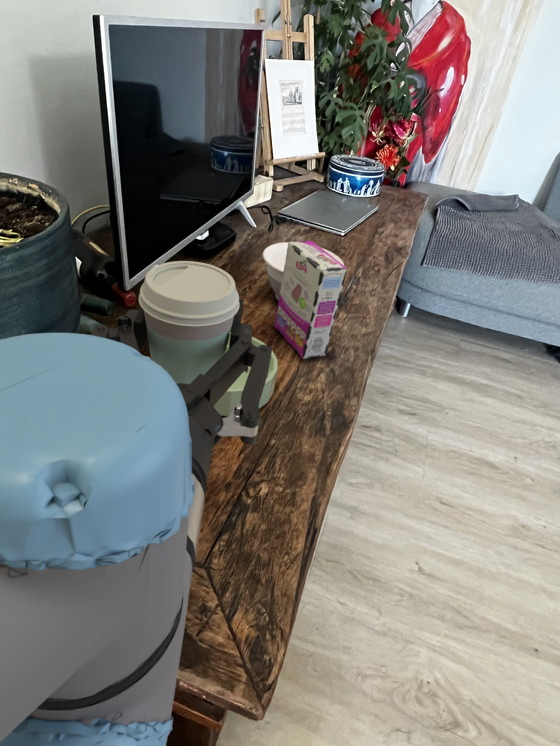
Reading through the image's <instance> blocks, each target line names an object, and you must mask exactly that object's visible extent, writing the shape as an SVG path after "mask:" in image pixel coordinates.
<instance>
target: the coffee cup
mask: <svg viewBox="0 0 560 746" xmlns="http://www.w3.org/2000/svg"><path fill="white" fill-rule="evenodd" d="M236 286H237V285H236V282H235V280H234V278H233V277H232V275H231V274H229V273H228V272H227V271H225V270H223V269H222V268H220V267H218V266H216V265H212V264H209V263H205V262H199V261H192V260H175V261H168V262H164V263H160V264H158V265H156V266H153V267H152V268H150V269H149V270H148V271H147V273H146V274H145V278H144V281H143V283H142V284H141V286H140V289H139V295H138V302H139V303H138V304H139V305H140V307H142V308H143V309H144V314H145V321H146V328H147V334H148V337H147V341H148V348H149V354H150V359H151V360H152V361H154V362H155V363H156V364H158V365H160V366H161V367H162V368H163V369H164V370H166V371H167V373H168V374H169V375H170V376H171V377H172V378H173V380H174V381H175V383H176V384H178V383H184V384H190V383H191V382H192V381H193V380H194V379H195V378H196V377H197V376H198V375H199V374H203V375H204V374H205V373H206V372H207V371H208V370H209V369H210V368H211V367H212V366H213V365H214V364H215V363H216V362H217V361H218V360H219V359H220V358H221V357H222V356H223V355H224V354H225V352H226V348H227V344H228V340H229V335H230V331H231V328H232V323H233V318H234V315H235V314H236V313H237V311H238V309H239V305H240V304H239V299H240V295H239V293H238V290H237V287H236Z"/></svg>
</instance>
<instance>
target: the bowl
mask: <svg viewBox="0 0 560 746" xmlns="http://www.w3.org/2000/svg"><path fill="white" fill-rule="evenodd" d="M288 242H289V241H288ZM288 242H287V241H286V242H285V241H283V242H277V243H274V244H271V245H269V246H268V245H267V247H266V248H264V250H263V252H262V258H263V260H264V261H265V263H266V274H267V278H268V281H269V284H270V285H271V288H272V290H273V292H274V293H275V298H276V300H277V301H279V296H280V289H281V283H282V278H283V272H284V266H285V260H286V255H287V249H288ZM321 248H322V249H323V250H324V251H326V252H327V253H328V254H330V255H331V256H332V257H333V258H335V259H336V260H337V261H339V262H340V263H341V264H342V265H344V266H345V263H344V261H343V260H342V258H340V257H339V256H338V255H337V254H335V253H333V252H332V251H330V250H327V249H325V248H323V247H321Z"/></svg>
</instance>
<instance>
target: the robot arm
mask: <svg viewBox="0 0 560 746" xmlns="http://www.w3.org/2000/svg"><path fill="white" fill-rule="evenodd" d="M239 304H240V305H239V309H238V311H237V313H236V314H235V315H234V318H233V323H232V327H231V334H230V343H229V350H228V351H227V352H226V353H225V354H224V355H223V356H222V357H221V358H220V359H219V360H218V361H217V362H216V363H215V364H214V365H213V366H212V367H211V368H210V369H209V370H208V371H207V372H206V373H205V374H204V375H203V374H199V375H198V376H197V377H196V378H195V379H194V380H193V381H192V382H191V383H190V384H184V383H178V384H176V383H175V381H174V380H173V378H172V377H171V376H170V375H169V374H168V373H167V371H166V370H164V369H163V368H162V367H161V366H160V365H158V364H156V363H155V362H154V361H152V360H151V357H150V356H145V355H143V354H142V353H141V350H144V347H145V344H146V343H147V341H148V334H147V328H146V321H145V314H144V309H143V308H142V307H141V306H140V307H139V308H138V309H131V308H130V309H129V310H128V311H127V312H126V313H125V315H120V316H118V317H116V327H115V328H109V326H107V325H105V324H96V325H94V326H93V327H92V330H91V334H86V333H75V332H74V333H73V332H38V333H28V334H21V335H16V336H15V335H14V336H11V337H7V338H1V339H0V746H167V742H168V737H169V735H170V733H171V732H172V731H173V723H174V716H172V711H173V705H174V699H175V692H176V687H177V679H178V673H179V668H180V660H181V655H182V647H183V642H184V635H185V629H186V628H185V627H186V620H187V611H188V604H189V598H190V597H189V596H190V591H191V590H190V589H191V583H192V575H193V571H194V567H195V560H196V555H197V551H198V545H199V541H200V540H199V539H200V533H201V526H202V520H203V515H204V509H205V503H206V499H205V495H206V493H207V489H208V481H209V476H210V469H211V463H212V457H213V450H214V448H215V447H216V446H217V444H219V443H220V441H221V439H222V438H223V437H229V438H230V437H239V439H240V442H242V444H245V445H248V446H250V445H254V444H255V443H256V442H257V440H258V439H257V438H258V433H259V427H260V421H261V411H260V408H259V407H258V405H259V402H260V398H261V395H262V392H263V388H264V385H265V382H266V378H267V375H268V371H269V365H270V359H271V354H272V351H273V348H272V346H270V345H268V344H266V345H260V346H259V347H257V346H255V345H253V344H252V337H253V330H254V326H253V325H252V324H249V323H243V322H242V317H243V309H244V299H240V298H239ZM248 366H250V367H251V369H250V372H249V375H248V378H247V380H246V383H245V386H244V389H243V392H242V395H241V402H240V403H238V404H236V405H235V408H234V409H232V410H231V411H230V414H229V416H224V417H223V416H221V415H220V414H219V413H218V412H217V411H216V409H215V408H214V405H215V404H216V403H217V402H218V400H219V399H220V398H221V397H222V396H223V395H224V394H225V392H226V391H227V390H228V389H229V388H230V387H231V385H232V384H233V383H234V382H235V381H236V380H237V379H238V377H239V376H240V375H241V374H242V373H243V372H245V371H246V373H247V372H248Z"/></svg>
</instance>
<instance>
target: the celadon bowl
mask: <svg viewBox="0 0 560 746" xmlns="http://www.w3.org/2000/svg"><path fill="white" fill-rule="evenodd" d="M230 334H231V331H230ZM229 343H230V335H229V340H228V344H227V348H226V352H227V351H228V350H229ZM252 344H253V345H255V346H257V347H259V346H260V345H267V344H266V343H265V342H263V341H262V340H259V339H258V338H256V337H254V336H252ZM226 352H225V353H226ZM278 361H279V360H278V358H277V356H276V354H275V353H274V351H273V350H272V354H271V359H270V365H269V371H268V375H267V378H266V382H265V385H264V388H263V392H262V395H261V398H260V402H259V405H258V407H259V409H261V408H262V407H263V406H265V405H266V404H268V403H269V401H270V399H271V398H272V397H273V394H274V391H275V386H276V379H277V374H278V367H279V365H278ZM250 369H251V367H250V366H248V372H247V373H246V371H245V372H243V373H242V374H241V375H240V376H239V377H238V379H237V380H236V381H235V382H234V383H233V384H232V385H231V387H230V388H229V389H228V390H227V391H226V392H225V394H224V395H223V396H222V397H221V398H220V399H219V400H218V402H217V403H216V404H215V405H214V408H215V409H216V411H217V412H218V413H219V414H220V415H221V417H228V416H229V414H230V411H231V410H232V409H234V408H235V405H236V404H238V403H240V402H241V395H242V392H243V389H244V386H245V383H246V380H247V378H248V375H249V372H250Z"/></svg>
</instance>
